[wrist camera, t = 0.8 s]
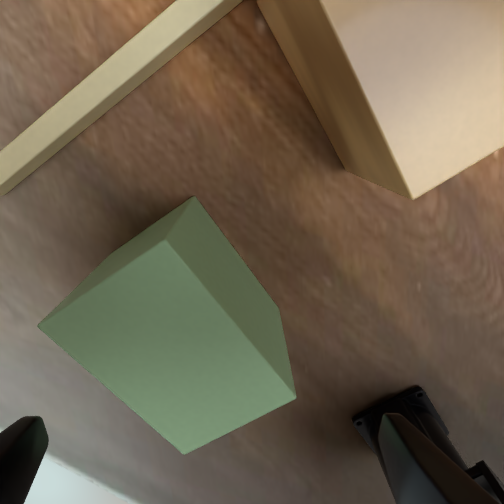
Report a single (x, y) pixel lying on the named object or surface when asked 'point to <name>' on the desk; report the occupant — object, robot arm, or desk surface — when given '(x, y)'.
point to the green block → (179, 331)
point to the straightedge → (108, 85)
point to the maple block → (399, 82)
